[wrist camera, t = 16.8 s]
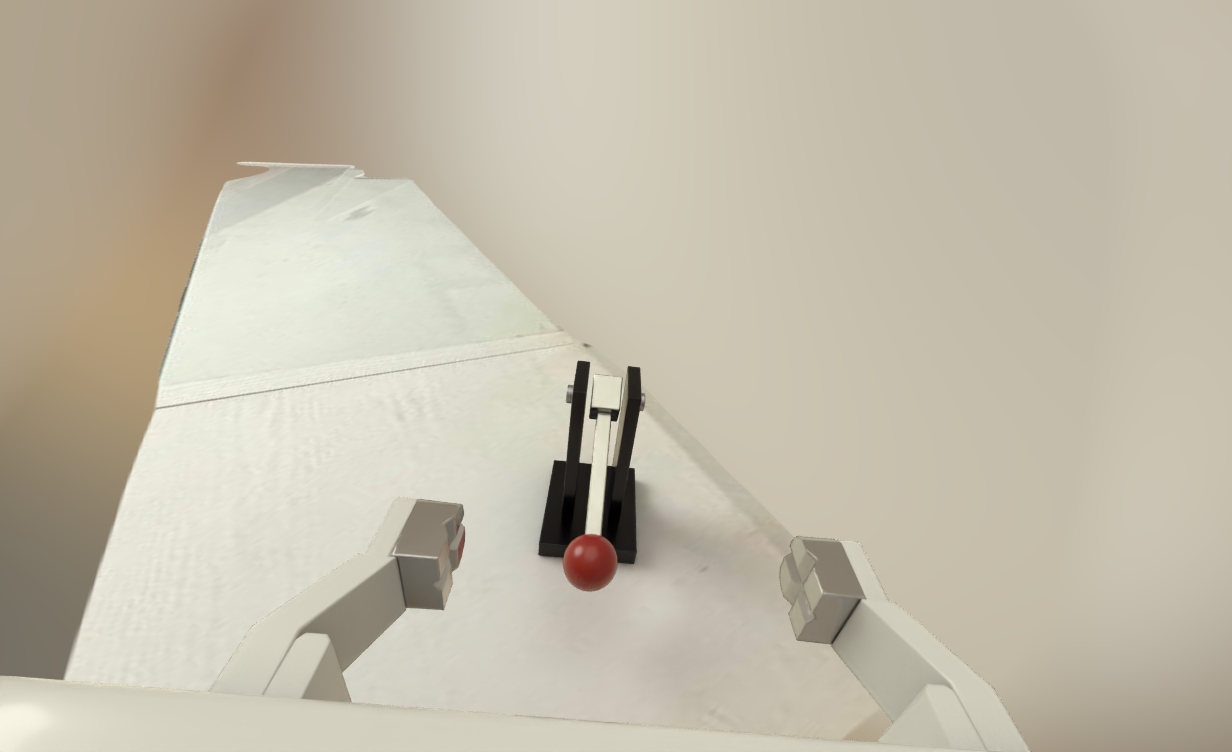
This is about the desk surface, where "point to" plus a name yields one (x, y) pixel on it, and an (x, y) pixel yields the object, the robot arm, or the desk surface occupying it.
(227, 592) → the desk surface
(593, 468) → the lever
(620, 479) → the black lever base
